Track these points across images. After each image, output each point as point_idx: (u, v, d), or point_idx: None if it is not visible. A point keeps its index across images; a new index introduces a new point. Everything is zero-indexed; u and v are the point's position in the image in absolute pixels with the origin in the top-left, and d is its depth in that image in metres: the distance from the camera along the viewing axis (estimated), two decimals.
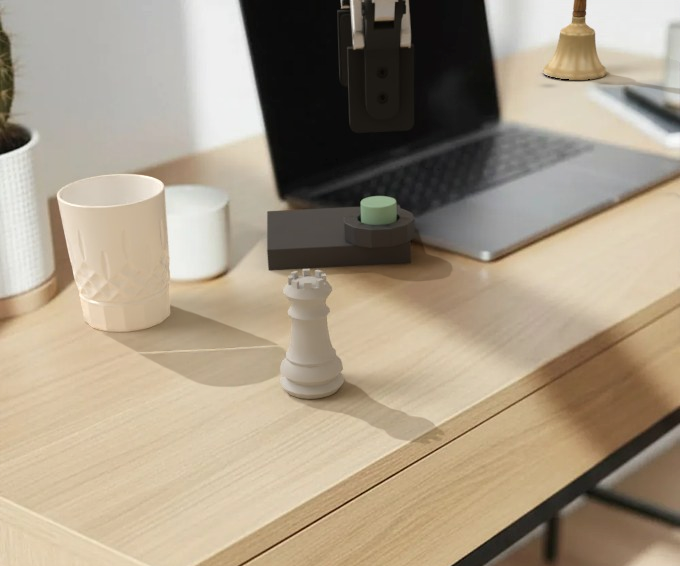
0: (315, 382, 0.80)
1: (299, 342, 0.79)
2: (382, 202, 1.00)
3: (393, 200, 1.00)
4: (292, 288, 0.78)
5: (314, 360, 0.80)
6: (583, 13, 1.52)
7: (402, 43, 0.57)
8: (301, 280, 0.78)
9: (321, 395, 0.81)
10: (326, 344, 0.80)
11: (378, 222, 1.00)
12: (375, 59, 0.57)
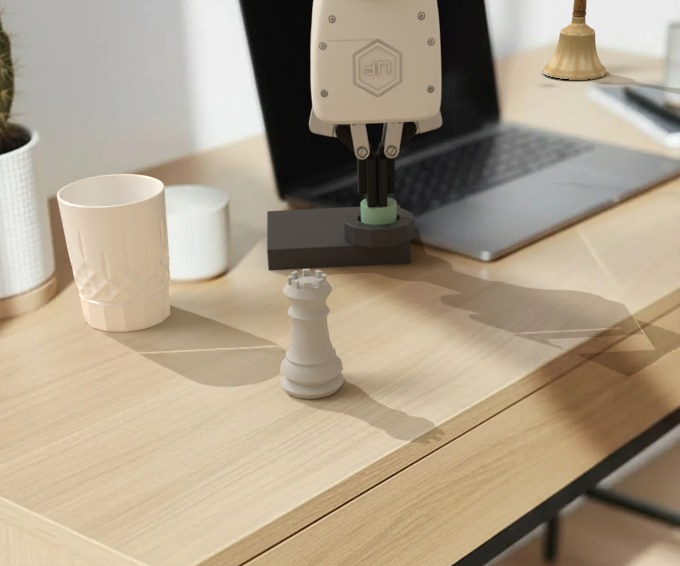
0: (315, 382, 0.80)
1: (299, 342, 0.79)
2: None
3: (393, 201, 1.00)
4: (292, 288, 0.78)
5: (314, 360, 0.80)
6: (583, 13, 1.52)
7: (360, 157, 0.97)
8: (301, 280, 0.78)
9: (321, 395, 0.81)
10: (326, 344, 0.80)
11: (378, 223, 1.00)
12: (357, 158, 0.99)
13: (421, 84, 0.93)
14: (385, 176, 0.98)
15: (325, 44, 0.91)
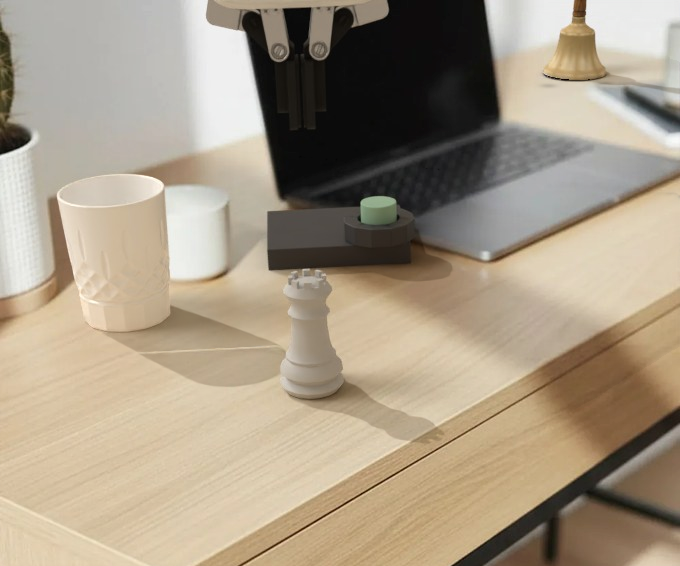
0: (315, 382, 0.80)
1: (299, 342, 0.79)
2: (382, 202, 1.00)
3: (393, 200, 1.00)
4: (292, 288, 0.78)
5: (314, 360, 0.80)
6: (583, 13, 1.52)
7: None
8: (301, 280, 0.78)
9: (321, 395, 0.81)
10: (326, 344, 0.80)
11: (378, 222, 1.00)
12: None
13: None
14: (311, 85, 0.71)
15: None
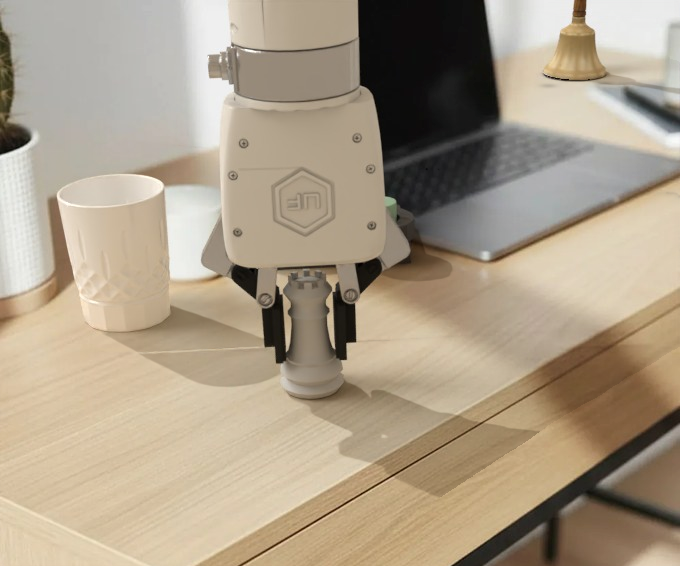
0: (315, 382, 0.80)
1: (299, 342, 0.79)
2: None
3: (393, 200, 1.00)
4: (292, 288, 0.78)
5: (314, 360, 0.80)
6: (583, 13, 1.52)
7: None
8: (301, 280, 0.78)
9: (321, 395, 0.81)
10: (326, 344, 0.80)
11: None
12: None
13: (359, 220, 0.74)
14: (343, 325, 0.78)
15: (236, 174, 0.72)
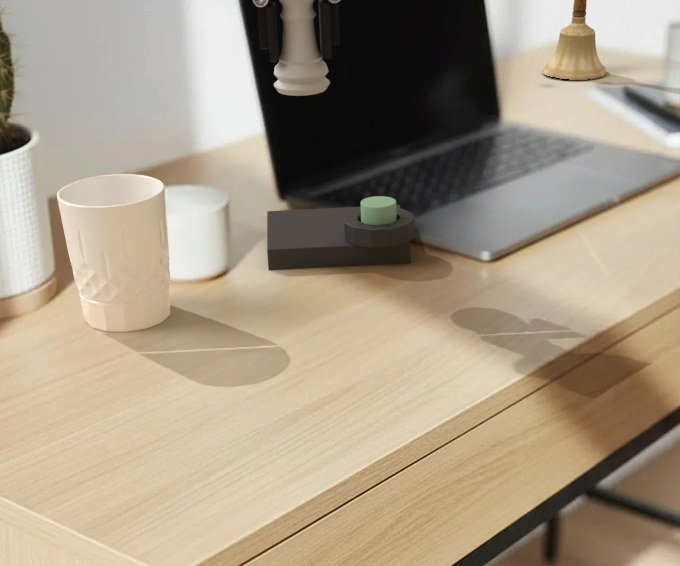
0: (304, 78, 0.92)
1: (290, 42, 0.92)
2: (382, 202, 1.00)
3: (393, 200, 1.00)
4: None
5: (303, 58, 0.92)
6: (583, 13, 1.52)
7: (257, 5, 0.90)
8: None
9: (310, 91, 0.93)
10: (313, 45, 0.92)
11: (378, 222, 1.00)
12: None
13: None
14: (328, 23, 0.91)
15: None
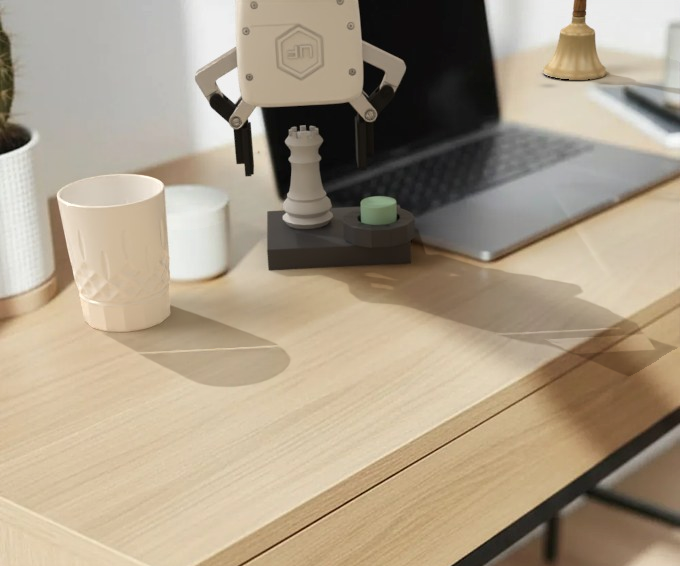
0: (310, 215, 1.03)
1: (297, 183, 1.03)
2: (382, 202, 1.00)
3: (393, 200, 1.00)
4: (292, 138, 1.01)
5: (309, 196, 1.03)
6: (583, 13, 1.52)
7: (230, 124, 1.00)
8: (299, 133, 1.01)
9: (315, 225, 1.04)
10: (318, 185, 1.03)
11: (378, 222, 1.00)
12: None
13: (343, 67, 0.96)
14: (364, 140, 1.00)
15: (248, 30, 0.94)
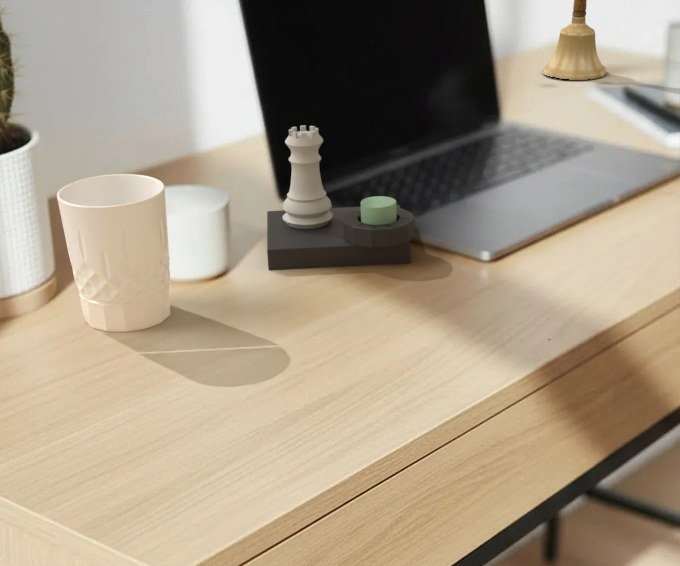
0: (310, 215, 1.03)
1: (297, 183, 1.03)
2: (382, 202, 1.00)
3: (393, 200, 1.00)
4: (292, 138, 1.01)
5: (309, 196, 1.03)
6: (583, 13, 1.52)
7: None
8: (299, 133, 1.01)
9: (315, 225, 1.04)
10: (318, 185, 1.03)
11: (378, 222, 1.00)
12: None
13: None
14: None
15: None
